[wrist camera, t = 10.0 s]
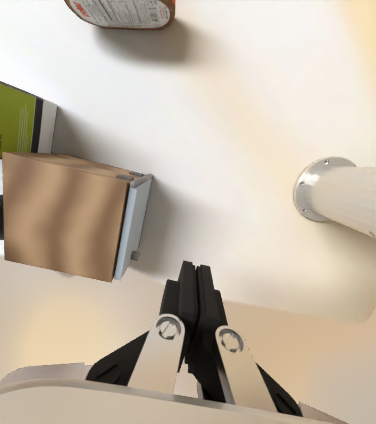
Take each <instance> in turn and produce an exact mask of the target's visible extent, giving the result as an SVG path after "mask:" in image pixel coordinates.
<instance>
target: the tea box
mask: <svg viewBox="0 0 376 424" xmlns="http://www.w3.org/2000/svg"><path fill="white" fill-rule="evenodd" d="M56 112H57V105H56V104H55V103H52V102H50V101H47V100H45V99H43V98H40V97H38V96H35V95H33V94H31V93H28V92H26V91H23V90H21V89H19V88H16V87H14V86H11V85H9V84H6V83H4V82H1V81H0V159H2V152H25V153H51V147H52V140H53V134H54V127H55V120H56Z"/></svg>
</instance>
